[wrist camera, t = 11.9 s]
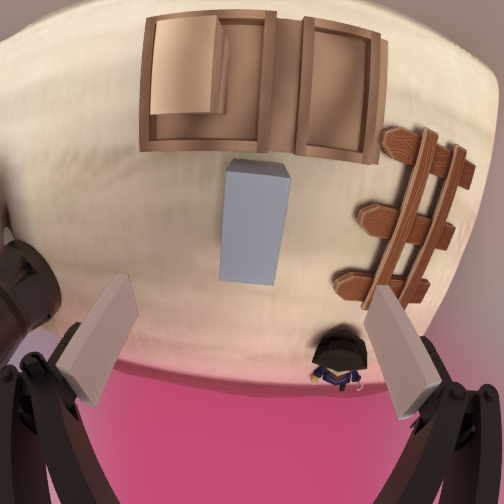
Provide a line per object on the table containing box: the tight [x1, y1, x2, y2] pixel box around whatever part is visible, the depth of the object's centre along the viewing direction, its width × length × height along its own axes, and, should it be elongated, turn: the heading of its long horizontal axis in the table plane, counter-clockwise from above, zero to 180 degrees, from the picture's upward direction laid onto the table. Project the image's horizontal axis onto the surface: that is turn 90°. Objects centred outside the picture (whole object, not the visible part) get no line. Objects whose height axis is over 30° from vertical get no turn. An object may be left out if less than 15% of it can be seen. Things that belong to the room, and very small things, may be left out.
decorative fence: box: [333, 126, 476, 311], centre depth 28 cm, size 23×2×15 cm
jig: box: [139, 9, 388, 165], centre depth 21 cm, size 24×14×3 cm, turn 87°
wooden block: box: [150, 15, 230, 115], centre depth 18 cm, size 4×7×9 cm, turn 177°
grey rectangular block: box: [219, 158, 291, 286], centre depth 26 cm, size 5×10×7 cm, turn 174°
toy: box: [311, 329, 367, 391], centre depth 38 cm, size 9×6×15 cm
